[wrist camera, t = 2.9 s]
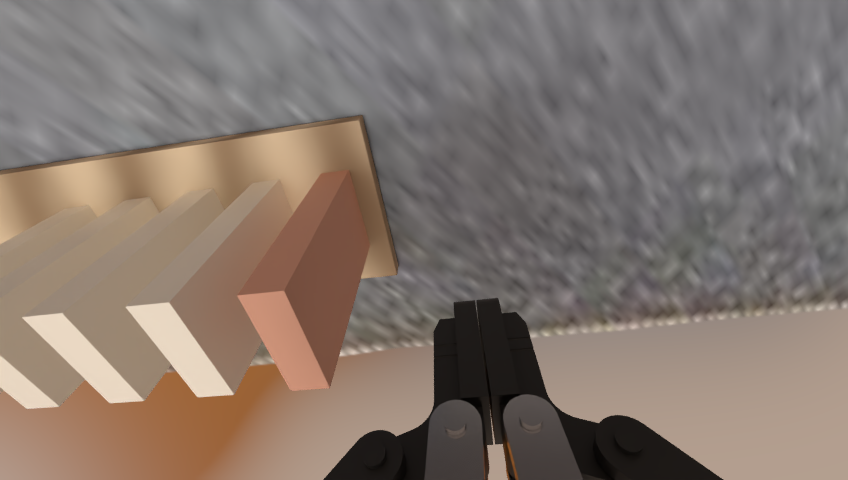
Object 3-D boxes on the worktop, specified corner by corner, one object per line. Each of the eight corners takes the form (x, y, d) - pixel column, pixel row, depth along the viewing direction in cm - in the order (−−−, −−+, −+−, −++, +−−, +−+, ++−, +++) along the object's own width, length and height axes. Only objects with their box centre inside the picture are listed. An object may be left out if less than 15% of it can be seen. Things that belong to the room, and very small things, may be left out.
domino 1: (88, 205, 22) (-131, 332, 13) (136, 271, 24) (-21, 412, 16) (65, 208, 22) (-166, 335, 14) (115, 273, 25) (-52, 414, 16)
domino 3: (213, 188, 21) (62, 313, 13) (249, 258, 24) (144, 400, 15) (187, 191, 21) (21, 317, 13) (225, 261, 24) (109, 403, 15)
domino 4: (279, 179, 20) (169, 302, 12) (308, 252, 23) (234, 394, 15) (252, 182, 21) (125, 306, 12) (284, 254, 23) (197, 397, 15)
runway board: (362, 115, 19) (358, 120, 19) (398, 265, 25) (396, 275, 24) (-81, 182, 22) (-101, 190, 22) (36, 303, 28) (24, 312, 27)
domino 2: (149, 196, 21) (-38, 323, 13) (191, 265, 24) (59, 406, 16) (125, 200, 22) (-76, 326, 13) (169, 267, 24) (26, 408, 16)
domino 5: (348, 169, 20) (284, 290, 12) (370, 245, 23) (329, 388, 14) (320, 173, 20) (236, 295, 12) (345, 248, 23) (291, 390, 14)
